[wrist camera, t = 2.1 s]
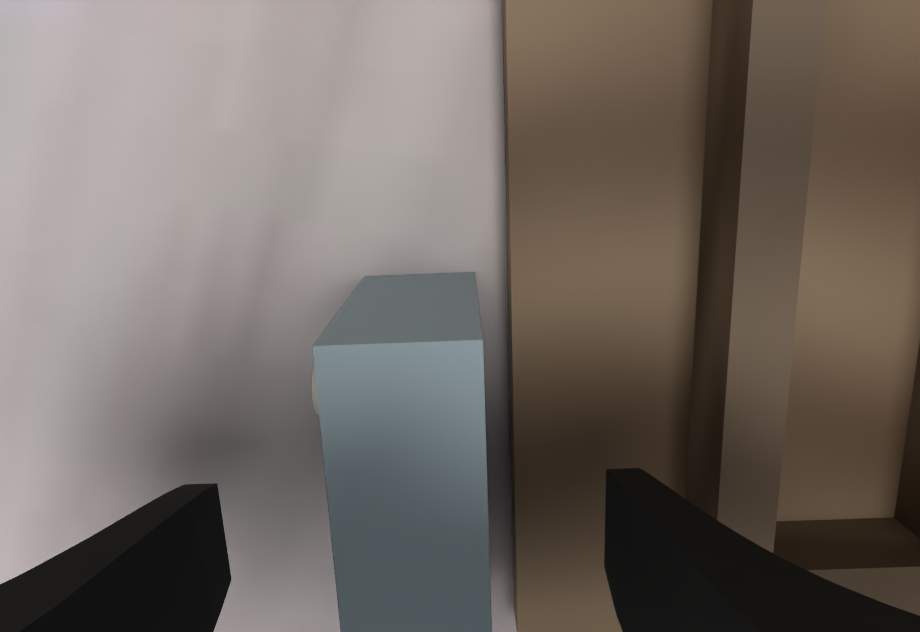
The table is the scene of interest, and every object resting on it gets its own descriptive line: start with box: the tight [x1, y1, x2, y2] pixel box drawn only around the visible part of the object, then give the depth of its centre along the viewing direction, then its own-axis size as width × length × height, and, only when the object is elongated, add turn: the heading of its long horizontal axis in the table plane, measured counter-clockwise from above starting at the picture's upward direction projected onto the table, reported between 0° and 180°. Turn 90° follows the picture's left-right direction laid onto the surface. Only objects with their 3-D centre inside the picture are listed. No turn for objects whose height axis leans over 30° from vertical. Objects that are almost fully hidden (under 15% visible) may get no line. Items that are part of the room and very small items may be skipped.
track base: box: [502, 0, 920, 632], centre depth 12 cm, size 22×14×5 cm, turn 2°
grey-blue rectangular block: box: [311, 272, 492, 632], centre depth 13 cm, size 8×3×6 cm, turn 2°
